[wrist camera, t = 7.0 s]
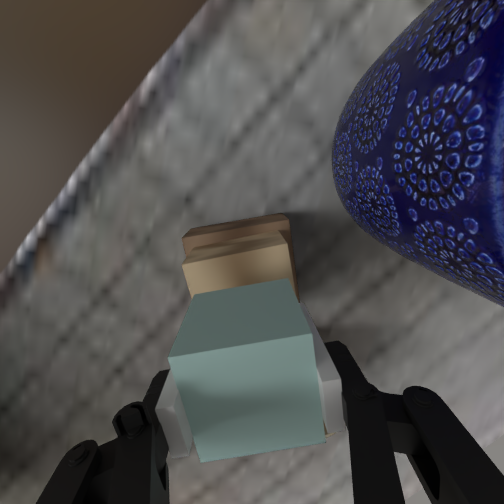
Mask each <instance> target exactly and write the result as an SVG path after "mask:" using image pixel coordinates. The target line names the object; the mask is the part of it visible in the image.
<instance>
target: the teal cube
mask: <svg viewBox="0 0 504 504" xmlns="http://www.w3.org/2000/svg"><path fill="white" fill-rule="evenodd" d="M168 361H169V364H170V367H171V370H172V373H173V377H174V380H175V383H176V386H177V389H178V390H179V393H180V396H181V399H182V403H183V406H184V409H185V412H186V416H187V419H188V422H189V425H190V429H191V432H192V435H193V440H194V443H195V446H196V449H197V452H198V456H199V459H200V462H201V463H203V462H209V461H216V460H222V459H228V458H234V457H240V456H247V455H253V454H259V453H265V452H271V451H278V450H284V449H290V448H296V447H303V446H309V445H315V444H321V443H326V439H325V432H324V424H323V417H322V410H321V401H320V393H319V384H318V376H317V368H316V360H315V352H314V344H313V336H312V332H311V330H310V327H309V325H308V323H307V320H306V318H305V316H304V313H303V311H302V309H301V307H300V304H299V302H298V300H297V297H296V295H295V293H294V291H293V288H292V286H291V284H290V281H289V279H288V278H285V279H280V280H274V281H268V282H262V283H257V284H251V285H245V286H240V287H234V288H228V289H222V290H217V291H211V292H205V293H199V294H194V296H193V299H192V301H191V303H190V306H189V308H188V311H187V313H186V315H185V318H184V320H183V322H182V325H181V327H180V330H179V332H178V334H177V337H176V339H175V341H174V344H173V346H172V349H171V351H170V353H169V356H168Z"/></svg>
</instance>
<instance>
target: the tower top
mask: <svg viewBox="0 0 504 504" xmlns="http://www.w3.org/2000/svg"><path fill="white" fill-rule="evenodd" d="M182 268H183V271H184V274H185V278H186V281H187V285H188V288H189V292H190V295H191V298H192V299H193V296H194V294H199V293H205V292H211V291H217V290H222V289H228V288H234V287H240V286H245V285H251V284H257V283H262V282H268V281H274V280H280V279H285V278H288V279H289V281H290V284H291V286H292V288H293V291H294V293H295V287H294V281H293V275H292V269H291V263H290V257H289V251H288V244H287V242H286V241H285V239H284V238H283V237H282V235H281V234H280V232H279V231H278V230H277V231H272V232H267V233H262V234H257V235H252V236H247V237H242V238H238V239H233V240H228V241H223V242H218V243H213V244H208V245H203V246H198V247H194V248H193V249H192V250H191V252H190V253H189V255H188V256H187V258H186V259H185V261H184V262H183V264H182ZM295 295H296V293H295Z"/></svg>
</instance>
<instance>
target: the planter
mask: <svg viewBox="0 0 504 504" xmlns="http://www.w3.org/2000/svg"><path fill="white" fill-rule="evenodd" d="M332 171H333V178H334V182H335V186H336V190H337V193H338V195H339V198H340V200H341V202H342V204H343V206H344V207H345V209H346V210H347V212H348V213H349V215H350V216H351V217H352V218H353V219H354V221H355V222H356V223H357V224H358V225H359V226H360V227H361V228H362V229H363V230H364V231H365V232H367V233H368V234H369V235H370V236H372V237H373V238H375V239H376V240H378V241H379V242H381V243H382V244H384V245H385V246H387V247H389V248H390V249H392V250H393V251H395V252H397V253H398V254H400V255H402V256H403V257H405V258H407V259H409V260H411V261H413V262H415V263H417V264H419V265H421V266H422V267H424V268H426V269H428V270H430V271H432V272H434V273H436V274H438V275H440V276H442V277H443V278H445V279H447V280H449V281H451V282H453V283H455V284H457V285H459V286H461V287H463V288H465V289H468V290H470V291H472V292H474V293H476V294H478V295H480V296H482V297H484V298H486V299H488V300H490V301H492V302H494V303H496V304H498V305H501V306H503V307H504V0H435V1H434V2H432V3H431V4H430V5H429V6H428V7H427V8H426V9H425V10H424V11H423V12H422V13H421V14H420V15H419V16H418V17H417V18H416V19H415V20H414V21H413V22H412V23H411V24H410V25H409V26H408V27H407V28H406V29H405V30H404V31H403V32H402V33H401V34H400V35H399V36H398V37H397V38H396V39H395V40H394V41H393V42H392V43H391V44H390V45H389V46H388V47H387V49H386V50H385V51H384V52H383V53H382V54H381V55H380V56H379V58H378V59H377V60H376V61H375V62H374V63H373V64H372V66H371V67H370V68H369V69H368V70H367V71H366V73H365V74H364V75H363V77H362V78H361V79H360V81H359V82H358V84H357V85H356V87H355V89H354V90H353V92H352V94H351V95H350V97H349V99H348V101H347V102H346V104H345V106H344V108H343V111H342V113H341V115H340V118H339V121H338V124H337V127H336V131H335V135H334V140H333V148H332Z"/></svg>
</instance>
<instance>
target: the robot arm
mask: <svg viewBox="0 0 504 504" xmlns="http://www.w3.org/2000/svg"><path fill="white" fill-rule="evenodd" d="M299 304H300V307H301V309H302V311H303V313H304V316H305V318H306V320H307V323H308V325H309V327H310V330H311V332H312V336H313V344H314V352H315V360H316V368H317V376H318V384H319V393H320V401H321V410H322V417H323V420H324V423H325V426H326V429H327V432H328V433H335V432H341V431H346V430H345V424H346V426H347V428H348V431H349V444H350V457H351V470H352V482H353V495H354V504H405V500H404V496H403V491H402V487H401V483H400V478H399V474H398V469H397V465H396V461H395V456H394V452H398V453H404V454H406V455H407V457H408V459H409V461H410V463H411V465H412V467H413V469H414V471H415V473H416V474H417V476H418V478H419V480H420V482H421V484H422V486H423V488H424V490H425V492H426V494H427V495H428V498H429V499H430V501H431V503H432V504H504V475H503V474H502V473H501V472H500V471H499V469H498V468H497V467H496V466H495V464H494V463H493V462H492V461H491V459H490V458H489V457H488V456H487V454H486V453H485V452H484V451H483V449H482V448H481V447H480V446H479V444H478V443H477V442H476V441H475V439H474V438H473V437H472V436H471V435H470V433H469V432H468V431H467V430H466V428H465V427H464V426H463V425H462V423H461V422H460V421H459V420H458V418H457V417H456V416H455V415H454V413H453V412H452V411H451V410H450V408H449V407H448V406H447V405H446V403H445V402H444V401H443V400H442V399H441V397H440V396H438V395H437V394H436V393H435V392H433V391H432V390H430V389H428V388H424V387H421V386H411V387H408V388H406V389H405V390H404V391H403V395H397V394H389V393H384V392H381V391H379V390H378V389H377V388H376V387H375V386H374V385H372V384H370V383H368V381H367V380H366V378H365V377H364V375H363V373H362V372H361V370H360V368H359V367H358V365H357V363H356V362H355V360H354V359H353V357H352V355H351V354H350V352H349V350H348V349H347V347H346V346H345V345H344V344H342V343H341V342H340V341H333V342H327V343H323V341H322V339H321V337H320V335H319V333H318V330H317V328H316V326H315V324H314V322H313V320H312V318H311V316H310V314H309V312H308V310H307V308H306V306H305V304H304V303H299ZM112 423H113V426H114V428H115V431H116V433H117V435H118V438H116V439H114V440H112V441H109V442H107V443H105V444H103V445H100V446H98V444H97V442H96V441H94V440H86V441H83V442H81V443H79V444H77V445H76V446H74V447H73V448H72V449H71V450H69V451H68V452H67V453H66V454H65V456H64V457H63V458H62V460H61V461H60V463H59V465H58V466H57V468H56V470H55V472H54V473H53V475H52V477H51V478H50V480H49V482H48V484H47V485H46V487H45V489H44V490H43V492H42V494H41V496H40V497H39V499H38V501H37V502H36V504H170V502H169V473H168V466H167V462H166V458H167V454H168V451H169V452H170V454H171V457H172V459H174V458H180V457H186V456H189V455H190V450H191V445H192V439H193V435H192V432H191V429H190V425H189V422H188V419H187V416H186V412H185V409H184V406H183V403H182V399H181V396H180V393H179V390H178V389H177V386H176V383H175V380H174V377H173V373H172V370H171V368H170V369H169V370H163V371H159V372H158V374H157V375H156V376H155V377H154V378H153V380H152V382H151V384H150V386H149V389H148V391H147V393H146V395H145V398H144V400H143V402H139V401H137V402H133V403H130V404H128V405H126V406H124V407H123V408H122V409H121V410H119V411H118V413H117V414H116V415H115V416H114V419H113V421H112Z"/></svg>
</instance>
